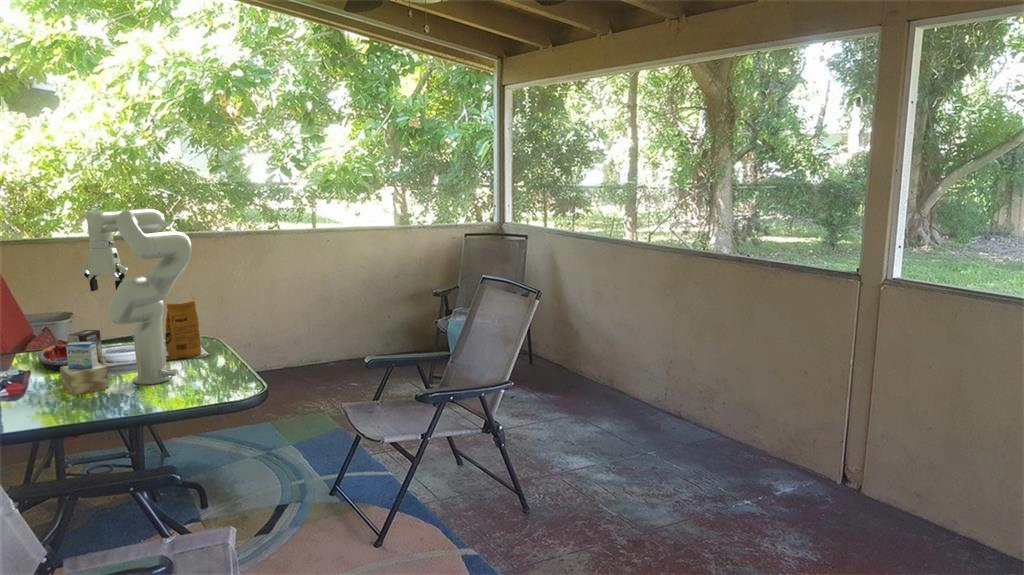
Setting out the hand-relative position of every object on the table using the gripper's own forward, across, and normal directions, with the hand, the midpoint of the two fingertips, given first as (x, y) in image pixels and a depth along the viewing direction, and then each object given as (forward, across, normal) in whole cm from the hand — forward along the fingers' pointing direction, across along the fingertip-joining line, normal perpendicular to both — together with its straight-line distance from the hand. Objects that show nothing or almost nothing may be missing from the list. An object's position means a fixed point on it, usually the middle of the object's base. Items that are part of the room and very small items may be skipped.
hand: (107, 290), depth 261 cm
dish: (+31, +26, -7) cm, 41 cm away
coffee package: (+31, -16, -20) cm, 40 cm away
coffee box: (+31, +6, +7) cm, 32 cm away
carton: (+30, -4, +22) cm, 38 cm away
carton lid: (+23, -4, +22) cm, 33 cm away
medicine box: (+23, -4, +22) cm, 32 cm away
